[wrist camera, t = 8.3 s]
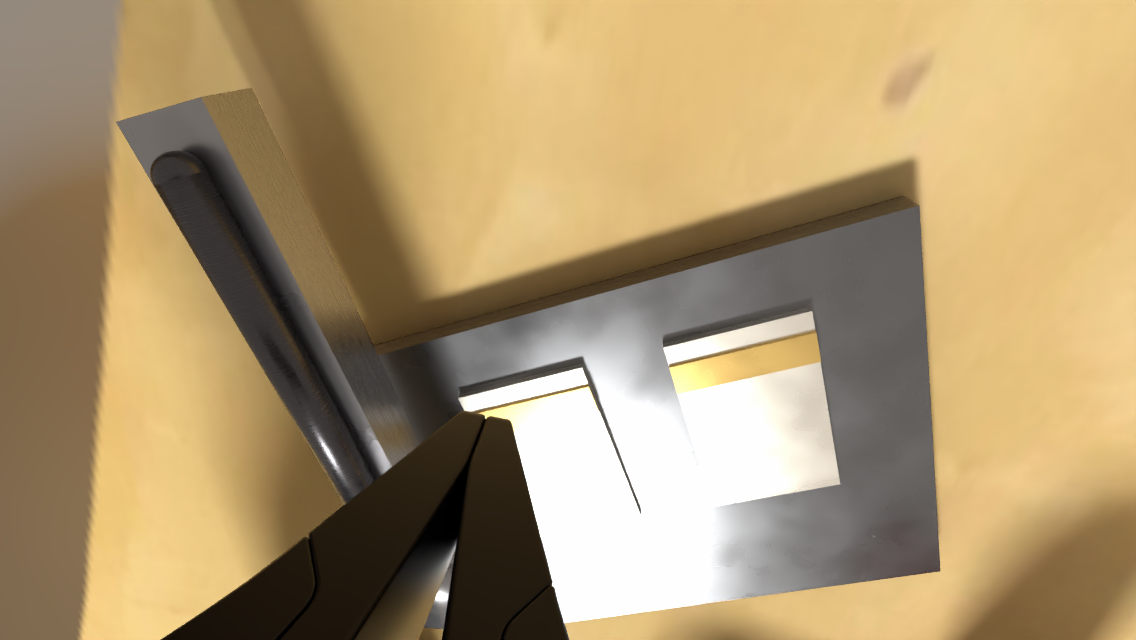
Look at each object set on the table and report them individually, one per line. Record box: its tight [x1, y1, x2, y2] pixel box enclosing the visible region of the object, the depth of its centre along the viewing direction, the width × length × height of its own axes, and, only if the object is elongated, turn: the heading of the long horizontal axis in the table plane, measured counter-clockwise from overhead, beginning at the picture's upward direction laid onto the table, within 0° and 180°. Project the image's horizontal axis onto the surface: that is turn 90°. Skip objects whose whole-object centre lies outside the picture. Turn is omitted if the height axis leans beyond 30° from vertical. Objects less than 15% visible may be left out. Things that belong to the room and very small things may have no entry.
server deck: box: [374, 196, 940, 623], centre depth 22 cm, size 21×17×3 cm
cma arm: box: [116, 88, 455, 629], centre depth 18 cm, size 20×4×3 cm, turn 14°
